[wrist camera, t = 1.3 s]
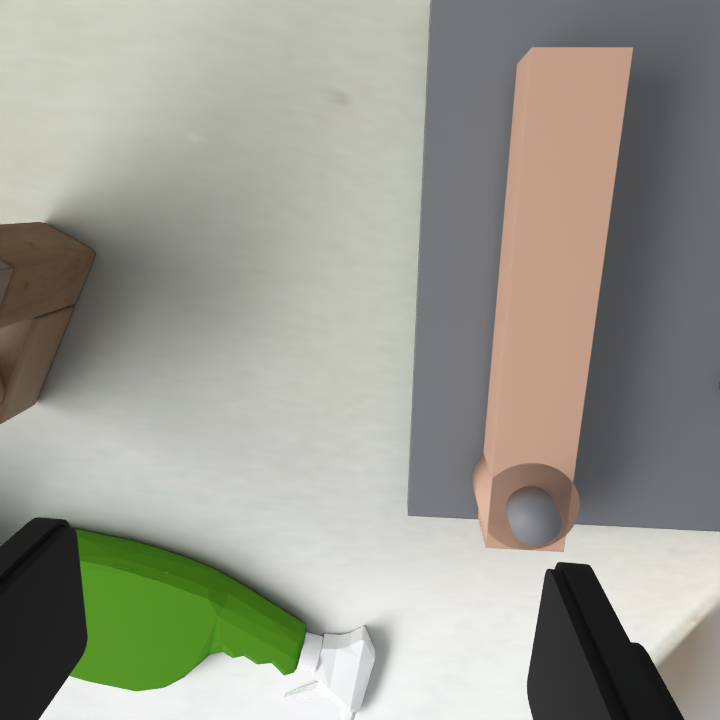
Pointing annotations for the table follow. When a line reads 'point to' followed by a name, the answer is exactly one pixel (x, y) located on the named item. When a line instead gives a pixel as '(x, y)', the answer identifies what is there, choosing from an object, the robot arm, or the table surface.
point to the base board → (620, 267)
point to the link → (548, 290)
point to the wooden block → (34, 306)
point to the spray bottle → (199, 625)
